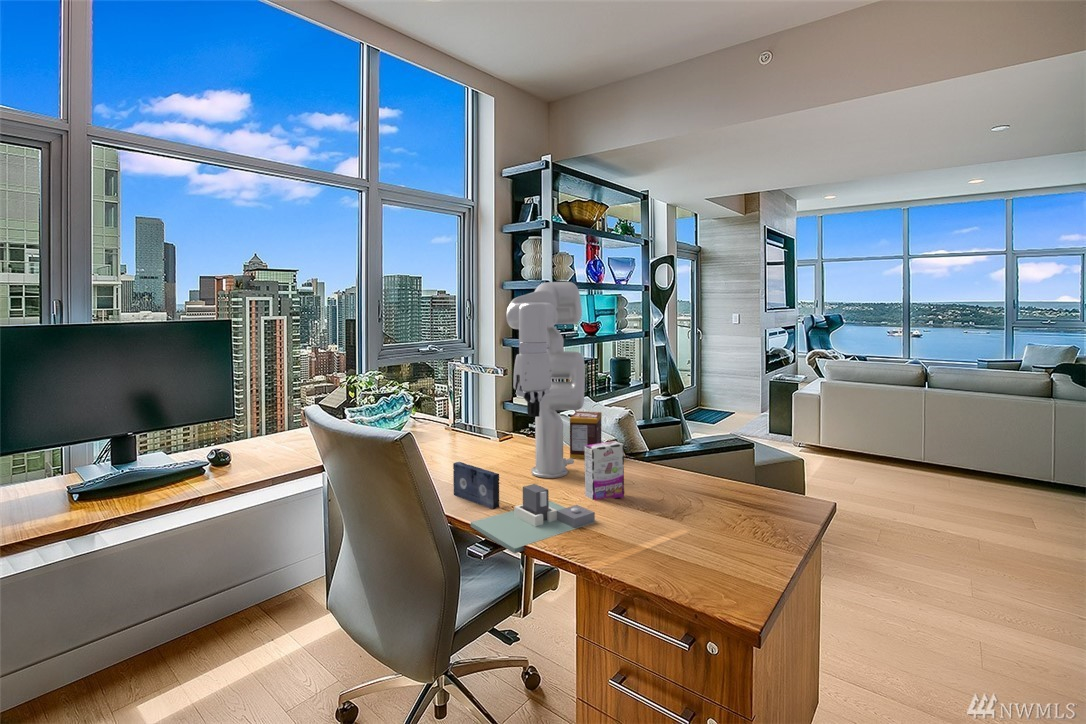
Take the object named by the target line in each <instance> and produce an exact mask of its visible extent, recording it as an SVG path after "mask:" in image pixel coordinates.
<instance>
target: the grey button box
mask: <svg viewBox="0 0 1086 724" xmlns="http://www.w3.org/2000/svg"><path fill="white" fill-rule="evenodd" d="M595 519H596V512H595V511H592V510H590V509H588V508H585V507H584V506H581V505H579V504H575V505H572V506H568V507H565V508H564V509H561V510H558V511H557V520H558V521H560V522H563V523H565V524H567V525H569V526H571V527H573V528H576V527H579V526H582V525H585V524H588V523H591V522H594V521H596V520H595Z"/></svg>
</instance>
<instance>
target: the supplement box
mask: <svg viewBox="0 0 1086 724" xmlns="http://www.w3.org/2000/svg"><path fill="white" fill-rule="evenodd" d="M602 413H603V412H602V411H583V410H575V412H574V413H573V414H572V415H571V417H569V459H571V458H572V459H577V460H578V459H580V460H581V459H582V460H583V459H584V460H585V445H592V444H598V443H602Z"/></svg>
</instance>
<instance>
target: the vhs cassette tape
mask: <svg viewBox="0 0 1086 724" xmlns="http://www.w3.org/2000/svg"><path fill="white" fill-rule="evenodd" d="M452 466H453V467H452V469H453V470H452V471H453V479H452V480H453V496H454V497H455V496H456V497H458V498H461V499H464V500H466V501H469V502H472V503H475V504H478V505H480V506H482V507H486V508H487V509H488V508H489V509H491V510H495V509H498V508H500V482H499V481H500V473H496V472H495V471H491V470H488V469H484V468H481V467H479V466H475V465H472V464H468V463H464V462H462V461H456V462H453V464H452Z"/></svg>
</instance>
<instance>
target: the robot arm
mask: <svg viewBox="0 0 1086 724" xmlns="http://www.w3.org/2000/svg"><path fill="white" fill-rule="evenodd" d="M582 312H583V310H582V301H581V294H580V290H579V288H578V286H577V285H576V283H574V282H572V281H551V282H550V281H548V282H543V283H541V284H539V285H537V286H536V288H535V289H534V291H533V292H530V293H526V294H523V295H519V296H517V297H515V298H513V299H512V300H511V301H510V302H509V305H508V306H507V309H506V314H505V316H506V323H507V325H508V326H509V327H510V328H511V329H514V330H518V344H519V345H518V353H517V354H516V355H515V360H514V367H513V389H514V390H516V392H515V395H516V396H517V397H522V398H523V399H524V400H525V402H527V408H526V409H527V416H529V417H532V418H535V419H534V423H535V424H534V425H535V433H534V435H535V438H534V439H535V442H534V443H535V466H533V467H532V468H531V470H530V473H531V475H532V476H534V477H538V478H543V479H544V478H545V479H555V478H561V477H565V476H566V475H568V473H569V470H568V468H567V466H568V465H573V464H575V460H574V458H565V457H564V421H563V419H562V417H561V415H560V414H558V412H557V411H580V410H581V409H582V408H583V406H584V403H585V378H586V377H585V373H586V372H585V371H586V369H585V359H584V356H583V354H582V353H581V352H579V351H572V350H571V351H564V337H563V335H562V334H561V332H560V331H559V329H557V328H556V327H555V325H575V324H578V323H580V321H581V319H582V314H583V313H582ZM553 379H554V380H570V381H552V380H553Z"/></svg>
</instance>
